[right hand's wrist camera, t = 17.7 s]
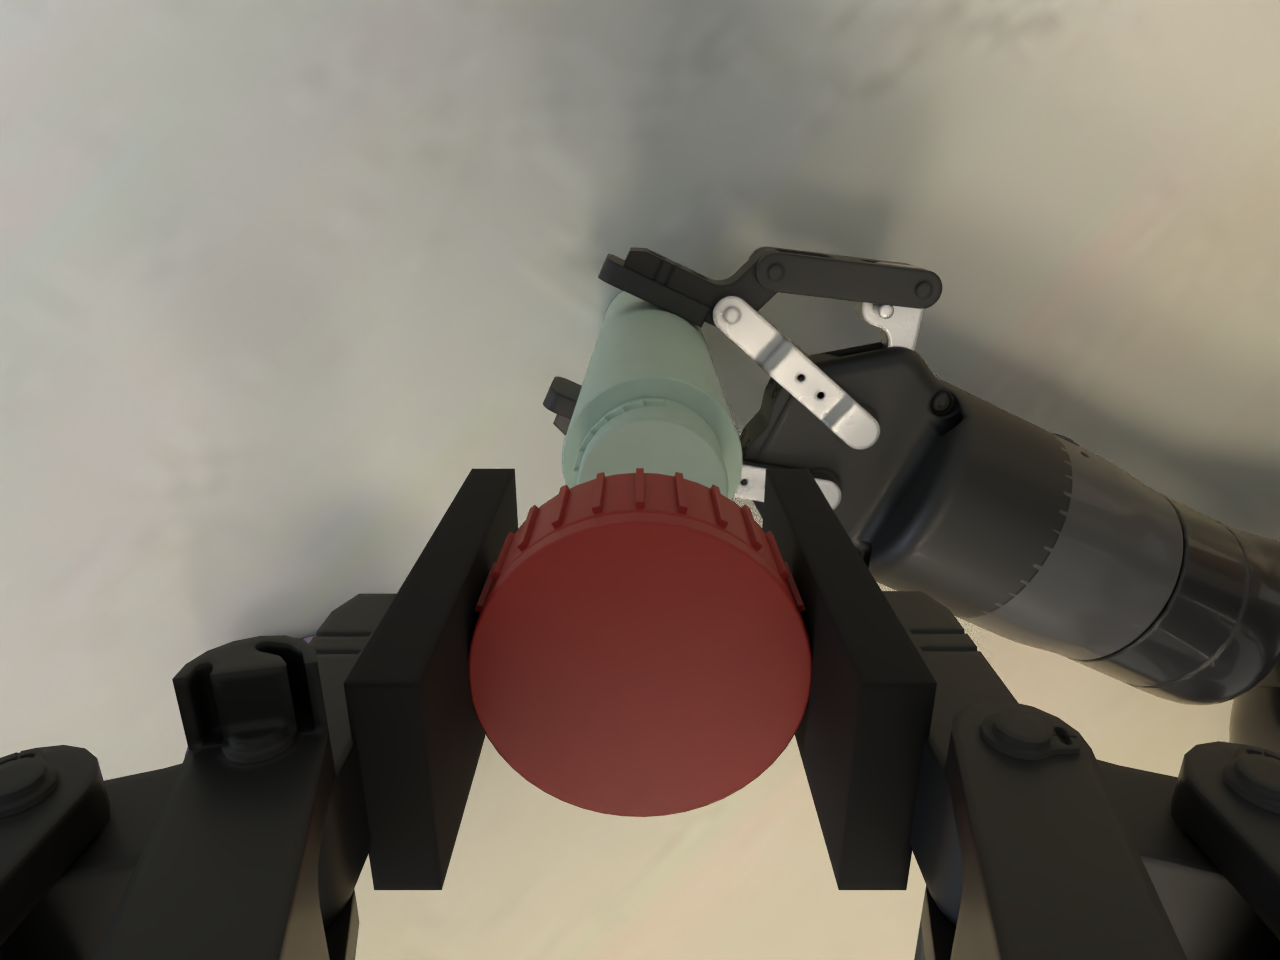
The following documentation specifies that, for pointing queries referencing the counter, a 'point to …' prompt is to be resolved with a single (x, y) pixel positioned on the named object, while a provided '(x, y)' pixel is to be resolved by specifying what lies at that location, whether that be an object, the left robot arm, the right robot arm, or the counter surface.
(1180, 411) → the counter surface
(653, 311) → the bottle
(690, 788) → the lid
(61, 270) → the counter surface
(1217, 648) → the left robot arm
